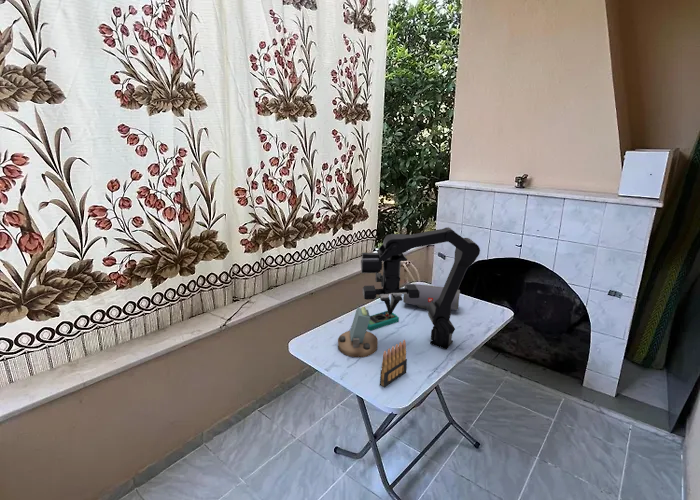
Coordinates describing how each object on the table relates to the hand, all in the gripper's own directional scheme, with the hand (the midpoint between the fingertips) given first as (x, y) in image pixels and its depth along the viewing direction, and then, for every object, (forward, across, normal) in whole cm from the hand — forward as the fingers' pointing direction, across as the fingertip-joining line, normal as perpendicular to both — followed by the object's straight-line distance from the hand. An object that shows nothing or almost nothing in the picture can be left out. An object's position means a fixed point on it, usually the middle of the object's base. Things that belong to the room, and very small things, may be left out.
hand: (389, 314), depth 131 cm
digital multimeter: (+13, +1, -16) cm, 21 cm away
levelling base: (+12, +12, 0) cm, 17 cm away
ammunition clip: (+12, +2, +19) cm, 23 cm away
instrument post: (+10, +12, 0) cm, 15 cm away
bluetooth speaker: (+12, -23, -27) cm, 38 cm away
